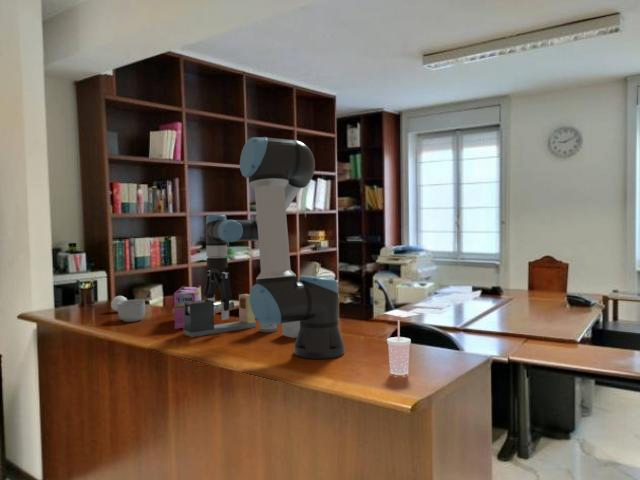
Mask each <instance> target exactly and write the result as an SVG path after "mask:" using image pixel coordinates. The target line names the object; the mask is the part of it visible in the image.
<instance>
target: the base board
mask: <svg viewBox="0 0 640 480" xmlns="http://www.w3.org/2000/svg"><path fill="white" fill-rule="evenodd" d="M252 328H257V322H255V323H251V324H245V323H242V322H239V321H234V322H227V323H226V322H225V323H220V324H214V329H210V330H204V331H197V332H188V331H185V329H183V335H185V336H187V337H191V338H196V336H197V337H202V336H208V335H215V334H219V333H220V334H221V333H227V332H233V331H239V330H246V329H252Z"/></svg>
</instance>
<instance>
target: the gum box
mask: <svg viewBox="0 0 640 480" xmlns="http://www.w3.org/2000/svg"><path fill="white" fill-rule="evenodd" d="M201 300H202V286H201V285H199V284H198V285H197V286H195V287H194V286H186V285H183V286H181V287H180V288H179V289H178V290H176V291H175V292H174V293H173V301H174V302H173V303H174V304H173V305H174V307H173V308H174V329H175V330H177V329H179V328H183V329H185V319H184V302H192V301H201Z"/></svg>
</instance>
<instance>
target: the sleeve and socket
mask: <svg viewBox="0 0 640 480" xmlns="http://www.w3.org/2000/svg"><path fill="white" fill-rule="evenodd" d="M187 306H189V308H190V314H188V313H187ZM238 318H239V319H238V320H239V321H238V322H242V323H245V324H251V323H256V317H255V316H254V314H253V311H252V309H251V305H250V293H242V294H241V293H239V294H238ZM184 319H185V328H184V330H185V331H188V332H197V331H204V330H210V329H214V325H215V315H214V301H210V300H207V299H203V300H202V299H201V301H192V302H184Z"/></svg>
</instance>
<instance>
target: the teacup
mask: <svg viewBox="0 0 640 480" xmlns="http://www.w3.org/2000/svg"><path fill="white" fill-rule="evenodd" d="M117 306H118V312H117V314H118V318H119V319H120V320H122V321H123V322H126V323H133V322H138V321H141V320H142V319H143V318H144V316H145V314H146V300H145V299H139V298H137V299H136V298H135V299H127V300H126V301H125V300H124V301H121V302H118V303H117Z"/></svg>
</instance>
